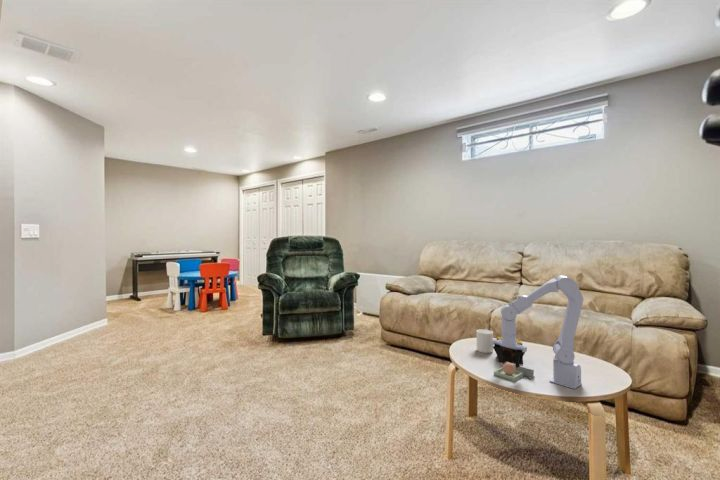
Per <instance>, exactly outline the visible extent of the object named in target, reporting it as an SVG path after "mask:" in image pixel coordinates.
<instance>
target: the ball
mask: <svg viewBox="0 0 720 480" xmlns="http://www.w3.org/2000/svg"><path fill="white" fill-rule="evenodd" d="M513 364H514V363H513ZM513 364H511V363H503V365H502V367H503V371H504V372H505V373H506V374H508V375H512V374H514V373H515V367H514V365H513Z"/></svg>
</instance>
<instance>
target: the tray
mask: <svg viewBox="0 0 720 480" xmlns="http://www.w3.org/2000/svg"><path fill="white" fill-rule="evenodd" d="M493 375H494V376H495V377H499V378H503V379H505V380H509V381H511V382H516V381H517V380H520V379H522V378H523V377H525V376H524V372H522V371H518V370H515V373H514V374H512V375H508V374H506V373H505V372H504V371H503V366H502V367H499V368H498V369H496V370H493Z"/></svg>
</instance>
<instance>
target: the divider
mask: <svg viewBox="0 0 720 480" xmlns="http://www.w3.org/2000/svg"><path fill="white" fill-rule="evenodd" d="M506 363H509V362H506ZM511 364H513V365H514V367H515V370H518V371H522V372H524V376H523V377H528V379H531V380H532V379H534V378H535V374H534V371H535V369H533V368H529V367H526V366H523V365H520V367H518V368H517V367H516V363H511Z"/></svg>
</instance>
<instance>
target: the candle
mask: <svg viewBox="0 0 720 480" xmlns="http://www.w3.org/2000/svg"><path fill="white" fill-rule="evenodd" d="M496 340H502V336H496ZM516 343H517V344H519V345H522V346H523V343H522V342H521V341H520V340H519V338H518V337H516ZM515 351H517V350H515V349H511V348H507V347H504V348H503V362H501V363H502V364H505V363H506V362H509V363H513V364H516V359H515V354H514V352H515ZM523 357H524V356H523ZM523 357H522V360H521V363H520V365H523V364H524V360H523V359H524V358H523ZM501 363H500V364H501Z"/></svg>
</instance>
